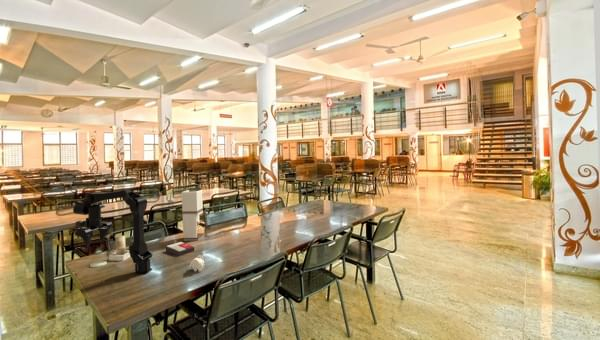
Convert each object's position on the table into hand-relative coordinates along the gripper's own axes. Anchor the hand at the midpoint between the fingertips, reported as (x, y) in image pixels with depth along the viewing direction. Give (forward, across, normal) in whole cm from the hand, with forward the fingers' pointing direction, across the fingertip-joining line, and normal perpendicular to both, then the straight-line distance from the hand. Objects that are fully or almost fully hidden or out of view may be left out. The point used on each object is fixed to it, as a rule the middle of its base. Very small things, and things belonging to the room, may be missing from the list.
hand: (94, 244), depth 160 cm
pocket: (+14, -18, +2) cm, 23 cm away
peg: (+14, -18, +2) cm, 23 cm away
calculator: (+13, -32, +32) cm, 47 cm away
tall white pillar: (+13, -60, +27) cm, 67 cm away
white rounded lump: (+11, -5, +56) cm, 58 cm away
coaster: (+15, -7, -4) cm, 17 cm away
